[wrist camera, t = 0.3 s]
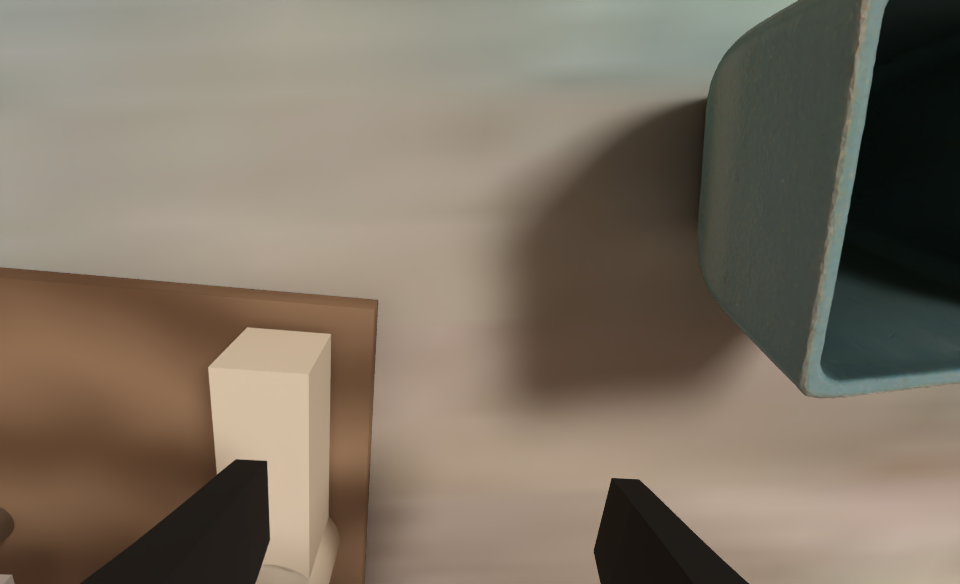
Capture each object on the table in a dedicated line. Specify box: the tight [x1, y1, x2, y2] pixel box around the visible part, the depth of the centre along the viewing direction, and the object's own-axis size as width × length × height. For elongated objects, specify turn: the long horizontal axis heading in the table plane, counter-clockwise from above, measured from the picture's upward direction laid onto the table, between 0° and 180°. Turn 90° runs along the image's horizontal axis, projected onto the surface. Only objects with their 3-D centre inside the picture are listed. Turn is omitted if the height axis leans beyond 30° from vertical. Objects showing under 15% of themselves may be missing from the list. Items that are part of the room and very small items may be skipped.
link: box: [208, 327, 340, 584], centre depth 18 cm, size 12×4×4 cm, turn 173°
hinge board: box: [0, 268, 378, 584], centre depth 17 cm, size 16×18×6 cm
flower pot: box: [698, 0, 960, 398], centre depth 14 cm, size 9×9×9 cm
